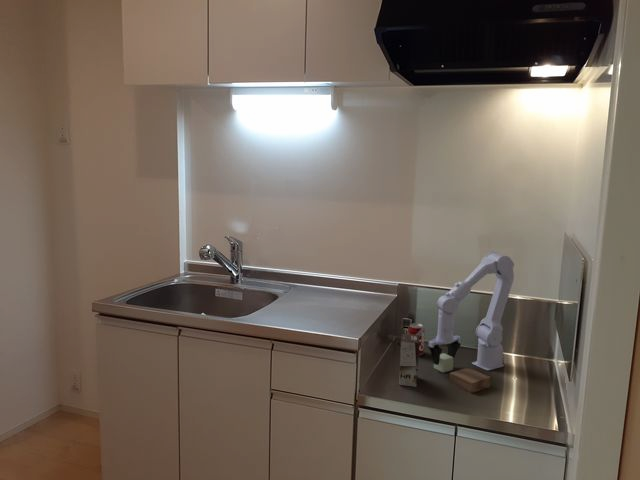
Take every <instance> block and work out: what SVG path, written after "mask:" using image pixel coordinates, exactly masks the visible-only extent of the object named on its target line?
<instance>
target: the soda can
mask: <svg viewBox="0 0 640 480" xmlns="http://www.w3.org/2000/svg"><path fill="white" fill-rule="evenodd" d="M425 332H426V330H425V328H424V324H421V323H415V322H414V323H410V324H409V327H408V328H407V334H415V335H419V356H422V355H424V353H425V338H426V337H425V335H426V333H425Z"/></svg>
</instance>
